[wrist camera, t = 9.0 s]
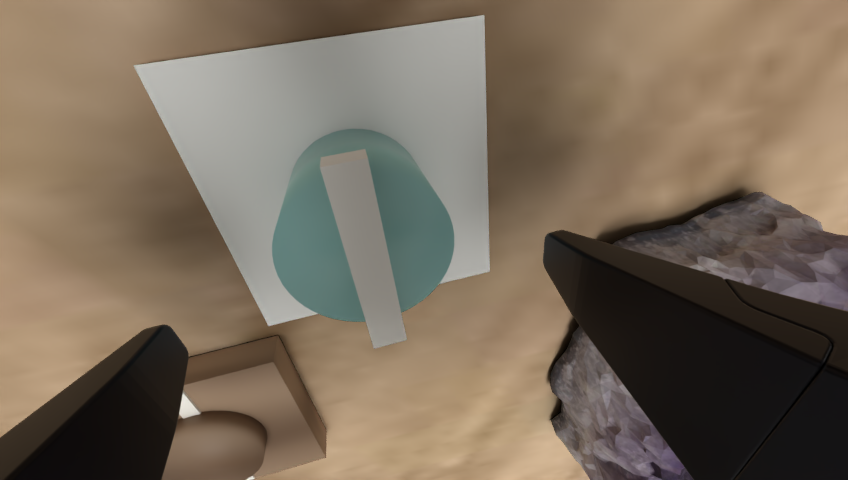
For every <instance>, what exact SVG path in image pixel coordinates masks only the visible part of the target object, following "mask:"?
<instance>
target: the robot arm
mask: <svg viewBox="0 0 848 480" xmlns="http://www.w3.org/2000/svg"><path fill="white" fill-rule="evenodd" d="M543 263H544V267H545V269H546V271H547V273H548V274H549V276H550V278H551V280H552V281H553V283H554V285H555V286H556V288H557V290H558V292H559V293H560V295H561V297H562V299H563V300H564V302H565V304H566V305H567V307H568V309H569V310H570V312H571V314H572V315H573V317H574V318H575V320H576V321H577V322H578V324H579V325H580V327H581V328H582V329H583V331H584V332H585V333H586V335H587V336H588V337H589V339H590V340H591V342H592V343H593V344H594V346H595V347H596V348H597V350H598V351H599V352H600V354H601V355H602V356H603V358H604V359H605V360H606V362H607V363H608V365H609V366H610V367H611V369H612V370H613V371H614V373H615V374H616V375H617V377H618V378H619V379H620V381H621V382H622V384H623V385H624V386H625V388H626V389H627V390H628V392H629V393H630V394H631V396H632V397H633V398H634V400H635V401H636V402H637V404H638V405H639V407H640V408H641V409H642V411H643V412H644V413H645V415H646V416H647V417H648V419H649V420H650V421H651V423H652V424H653V425H654V427H655V428H656V430H657V431H658V432H659V434H660V435H661V436H662V438H663V439H664V440H665V442H666V443H667V444H668V446H669V447H670V449H671V450H672V451H673V453H674V454H675V455H676V457H677V458H678V459H679V461H680V462H681V463H682V465H683V466H684V467H685V469H686V470H687V472H688V473H689V474H690V476H691V477H692V478H693V480H848V311H846V310H842V309H838V308H834V307H830V306H825V305H822V304H818V303H814V302H810V301H806V300H802V299H798V298H794V297H791V296H787V295H783V294H779V293H776V292H772V291H769V290H765V289H762V288H758V287H755V286H751V285H748V284H744V283H741V282H737V281H734V280H731V279H723V278H722V277H720V276H717V275H714V274H710V273H707V272H703V271H700V270H697V269H693V268H690V267H686V266H683V265H680V264H676V263H673V262H669V261H666V260H663V259H659V258H656V257H652V256H649V255H646V254H642V253H639V252H636V251H632V250H629V249H625V248H622V247H619V246H615V245H612V244H608V243H605V242H602V241H598V240H595V239H592V238H588V237H585V236H581V235H578V234H575V233H571V232H568V231H564V230H559V231H555V232H551V233H548V234H547V235H546V237H545V242H544V255H543ZM188 359H189V355H188V351H187V349H186V347H185V345H184V344H183V343H182V341H181V340H180V339H179V337H178V336H177V335H176V333H175V332H174V331H173V329H172V328H171V327H170V326H168V325H159V326H155V327H151V328H147V329H144V330H143V331H141V332H140V333H139V334H137V335H136V336H135V337H133V338H132V339H131V340H129V341H128V342H127V343H125V344H124V345H123V346H121V347H120V348H119V349H117V350H116V351H115V352H113V353H112V354H111V355H109V356H108V357H107V358H105V359H104V360H103V361H101V362H100V363H99V364H97V365H96V366H95V367H93V368H92V369H91V370H89V371H88V372H87V373H85V374H84V375H83V376H81V377H80V378H79V379H77V380H76V381H75V382H73V383H72V384H71V385H69V386H68V387H67V388H65V389H64V390H63V391H61V392H60V393H59V394H57V395H56V396H55V397H53V398H52V399H51V400H50V401H48V402H47V403H46V404H44V405H43V406H42V407H40V408H39V409H38V410H36V411H35V412H34V413H32V414H31V415H30V416H28V417H27V418H26V419H24V420H23V421H22V422H20V423H19V424H18V425H16V426H15V427H14V428H12V429H11V430H10V431H8V432H7V433H6V434H4V435H3V436H2V437H0V480H162V477H163V473H164V470H165V466H166V463H167V459H168V456H169V452H170V449H171V445H172V442H173V438H174V435H175V431H176V427H177V422H178V417H179V412H180V407H181V401H182V395H183V389H184V383H185V377H186V372H187V366H188Z"/></svg>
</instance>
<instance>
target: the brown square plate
mask: <svg viewBox="0 0 848 480" xmlns="http://www.w3.org/2000/svg"><path fill="white" fill-rule="evenodd" d="M323 458H326V429H325V427H324V425H323V423H322V421H321V419H320V417H319V415H318V413H317V411H316V409H315V407H314V405H313V403H312V401H311V399H310V397H309V395H308V393H307V391H306V389H305V387H304V385H303V383H302V381H301V380H300V378H299V376H298V374H297V372H296V370H295V368H294V366H293V364H292V362H291V360H290V358H289V356H288V354H287V352H286V350H285V348H284V346H283V344H282V342H281V340H280V338H279V336H278V335H277V336H273V337H269V338H265V339H261V340H257V341H253V342H249V343H245V344H242V345H238V346H234V347H230V348H226V349H222V350H218V351H214V352H210V353H206V354H202V355H198V356H194V357H190V358H189V359H188V366H187V372H186V377H185V383H184V389H183V395H182V401H181V407H180V412H179V417H178V422H177V427H176V431H175V435H174V438H173V442H172V445H171V449H170V452H169V456H168V459H167V463H166V466H165V470H164V473H163V477H162V480H253V479H256V478H259V477H263V476H266V475H269V474H273V473H276V472H279V471H283V470H286V469H289V468H293V467H296V466H299V465H303V464H306V463H309V462H313V461H316V460H319V459H323Z"/></svg>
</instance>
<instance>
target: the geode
mask: <svg viewBox="0 0 848 480" xmlns="http://www.w3.org/2000/svg"><path fill="white" fill-rule="evenodd" d="M612 245H615V246H619V247H622V248H625V249H629V250H632V251H636V252H639V253H642V254H646V255H649V256H652V257H656V258H659V259H663V260H666V261H669V262H673V263H676V264H680V265H683V266H686V267H690V268H693V269H697V270H700V271H703V272H707V273H710V274H714V275H717V276H720V277H722V278H723V279H731V280H734V281H737V282H741V283H744V284H748V285H751V286H755V287H758V288H762V289H765V290H769V291H772V292H776V293H779V294H783V295H787V296H791V297H794V298H798V299H802V300H806V301H810V302H814V303H818V304H822V305H825V306H830V307H834V308H838V309H842V310H846V311H848V236H845V235H837V234H833V233H829V232H825V231H823V229H822V225H821V222H819V221H817V220H816V219H814V218H812V217H810V216H808V215H805V214H802V213H800V212H799V211H798V210H796V209H795V208H794V207H792V206H790V205H787V204H783V203H781V202H779V201H777V200H775V199H774V198H772V197H770V196H768V195H766V194H764V193H762V192H753V193H751V194H749V195H746V196H744V197H741V198H739V199H738V200H736V201H732V202H728V203H725V204H722V205H720V206H717V207H714V208H712V209H711V210H709V211H707V212H705V213H703V214H700V215H698V216H696V217H693V218H692V219H690V220H688V221H687V222H685V223H683V224H681V225H670V226H667V227H665V228H663V229H657V230H650V231H644V232H638V233H634V234H632V235H630V236H627V237H625V238H623V239H620V240H618V241H616V242H615V243H613V244H612ZM550 386H551V389H552V392H553V393H554V394H555V395H556V396H557V397H558V398H559V399H561V400H562V405H561V413H560V414H558V415H557V416H556V417H554V418H553V419H551V422H552V425H553V427H554V430H555V433H556V435H557V436H558V437H559V438H560V439H561V441H562V442H563V443H564V444H565V446H566V447H567V449H568V450H569V452H570V453H571V454H572V456H573V457H574V458H575V460H576V461H577V462H578V463H579V464H580V465H581V466H582V468H583V469H584V471H585V472H586V474H587V475H588V477H589V478H590V480H693V478H692V477H691V476H690V474H689V473H688V472H687V470H686V469H685V467H684V466H683V465H682V463H681V462H680V461H679V459H678V458H677V457H676V455H675V454H674V453H673V451H672V450H671V449H670V447H669V446H668V444H667V443H666V442H665V440H664V439H663V438H662V436H661V435H660V434H659V432H658V431H657V430H656V428H655V427H654V425H653V424H652V423H651V421H650V420H649V419H648V417H647V416H646V415H645V413H644V412H643V411H642V409H641V408H640V407H639V405H638V404H637V402H636V401H635V400H634V398H633V397H632V396H631V394H630V393H629V392H628V390H627V389H626V388H625V386H624V385H623V384H622V382H621V381H620V379H619V378H618V377H617V375H616V374H615V373H614V371H613V370H612V369H611V367H610V366H609V365H608V363H607V362H606V360H605V359H604V358H603V356H602V355H601V354H600V352H599V351H598V350H597V348H596V347H595V346H594V344H593V343H592V342H591V340H590V339H589V337H588V336H587V335H586V333H585V332H584V331H583V329H582V328H581V327H580V326H579V327H578V328H577V329H576V331H575V332H574V333H573V335H572V339H571V341H570V343H569V345H568V348H567V350H566V351H565V352H564V353H563V355H562V356H561V357H560V358H559V359H558V361H557V362H556V363H555V365H554V368H553V370H552V372H551V374H550Z"/></svg>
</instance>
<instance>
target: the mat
mask: <svg viewBox="0 0 848 480" xmlns="http://www.w3.org/2000/svg"><path fill="white" fill-rule="evenodd" d="M133 66H134V67H135V69H136V71H137V73H138V75H139V77H140V79H141V81H142V83H143V85H144V87H145V89H146V91H147V93H148V94H149V96H150V98H151V100H152V102H153V104H154V106H155V108H156V110H157V112H158V114H159V116H160V118H161V120H162V121H163V123H164V125H165V127H166V129H167V131H168V133H169V135H170V137H171V139H172V141H173V143H174V145H175V147H176V148H177V150H178V152H179V154H180V156H181V158H182V160H183V162H184V164H185V166H186V168H187V170H188V172H189V174H190V175H191V177H192V179H193V181H194V183H195V185H196V187H197V189H198V191H199V193H200V195H201V197H202V199H203V201H204V202H205V204H206V206H207V208H208V210H209V212H210V214H211V216H212V218H213V220H214V222H215V224H216V226H217V228H218V229H219V231H220V233H221V235H222V237H223V239H224V241H225V243H226V245H227V247H228V249H229V251H230V253H231V255H232V256H233V258H234V260H235V262H236V264H237V266H238V268H239V270H240V272H241V274H242V276H243V278H244V280H245V282H246V283H247V285H248V287H249V289H250V291H251V293H252V295H253V297H254V299H255V301H256V303H257V305H258V307H259V309H260V310H261V312H262V314H263V316H264V318H265V320H266V322H267V324H268V326H271V325H275V324H279V323H283V322H287V321H291V320H295V319H300V318H304V317H308V316H312V315H316V314H318V313H316V312H313V311H312V310H310V309H308V308H306V307H305V306H303V305H302V304H301V303H299V302H298V301H297V300H296V299H295V298H294V297H293V296H292V295H291V294H290V293H289V292H288V291H287V290H286V288H285V287H284V286H283V285H282V283H281V281H280V279H279V277H278V275H277V273H276V270H275V267H274V263H273V257H272V242H273V235H274V231H275V228H276V224H277V221H278V217H279V214H280V211H281V207H282V204H283V200H284V197H285V194H286V190H287V187H288V184H289V180H290V177H291V174H292V171H293V168H294V166H295V164H296V162H297V160H298V159H299V157H300V156H301V154H302V153H303V152H304V151H305V150H306V149H307V148H308V147H309V146H310V145H311V144H312V143H314V142H315V141H316V140H318V139H320V138H322V137H323V136H325V135H328V134H330V133H333V132H336V131H340V130H346V129H366V130H372V131H375V132H379V133H382V134H384V135H386V136H388V137H390V138H392V139H393V140H395V141H397V142H398V143H399V144H400V145H402V146H403V147H404V148H405V149H406V150H407V151H408V152H409V153H410V155H411V156H412V158H413V159H414V160H415V162H416V163H417V165H418V167H419V168H420V170H421V171H422V173H423V174H424V176H425V177H426V179H427V180H428V182H429V183H430V185H431V186H432V188H433V189H434V191H435V192H436V194H437V195H438V197H439V198H440V200H441V201H442V203H443V204H444V206H445V208H446V210H447V212H448V214H449V216H450V218H451V222H452V225H453V230H454V251H453V256H452V260H451V263H450V265H449V268H448V270H447V272H446V274H445V276H444V277H443V279H442V281H441V282H440V283H439V284H442V283H446V282H450V281H454V280H458V279H462V278H466V277H470V276H474V275H478V274H482V273H486V272H490V257H489V210H488V162H487V115H486V68H485V20H484V15H480V16H473V17H466V18H459V19H453V20H446V21H439V22H432V23H425V24H418V25H411V26H404V27H397V28H390V29H383V30H376V31H369V32H362V33H355V34H348V35H341V36H334V37H327V38H320V39H313V40H307V41H300V42H293V43H286V44H279V45H272V46H265V47H258V48H251V49H244V50H237V51H230V52H223V53H216V54H209V55H202V56H195V57H188V58H181V59H174V60H167V61H160V62H154V63H147V64H140V65H133Z"/></svg>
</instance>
